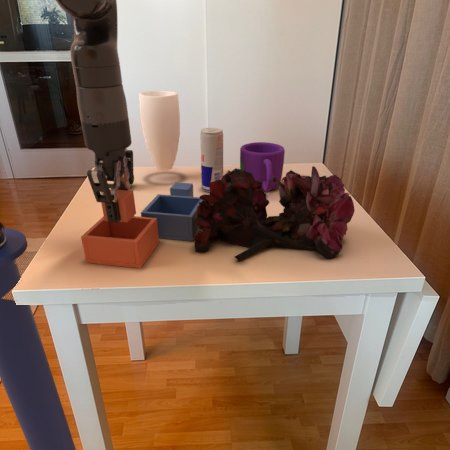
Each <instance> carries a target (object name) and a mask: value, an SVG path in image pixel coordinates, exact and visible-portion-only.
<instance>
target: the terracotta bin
mask: <svg viewBox="0 0 450 450" xmlns="http://www.w3.org/2000/svg"><path fill="white" fill-rule="evenodd" d="M80 239H81V243H82V248H83V253H84V258H85V262H86V263H87V264H95V265H96V264H97V265H105V266H106V265H107V266H115V267H116V266H117V267H126V268H132V269H133V268H135V269H141V268H142V267H143V265H144V264H145V263H146V261H147V260H148V259H149V257H150V256H151V254H152V253H153V252H154V251H155V249H156V248H157V247H158V245H159V244H160V238H159V235H158V224H157V218H149V217H141V216H139V215H138V216H137V215H136V216H135V215H134V216H133V217H132V218H131V219H130V220H129V221H128V222H127V223H125V222H118V223H116V222H109V221H105V220H104V215H103V216H102V217H101V218H100V219H99V220H97V222H96V223H94V224H93V225H92V226H91V227H90V228H89V229H87V231H86V232H84V233H83V234H82V235H81V237H80Z"/></svg>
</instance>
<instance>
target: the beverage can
mask: <svg viewBox="0 0 450 450" xmlns="http://www.w3.org/2000/svg"><path fill="white" fill-rule="evenodd" d="M223 131H224V130H223V129H222V128H220V127H204V128H201V129H200V133H199V135H200V136H199V137H200V171H201V172H200V173H201V175H200V176H201V190H203V191H204V192H207V193H210V187H209V183H210V182H214V181H216V180H221V179H222V177H223V176H224V132H223Z"/></svg>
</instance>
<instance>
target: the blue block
mask: <svg viewBox="0 0 450 450" xmlns="http://www.w3.org/2000/svg"><path fill="white" fill-rule="evenodd" d="M169 193H170V194H169V195H175V196H188V197H194V183H193V182H191V183H190V182H178V181H175V182H174V183H173V185H171V186H170V188H169Z"/></svg>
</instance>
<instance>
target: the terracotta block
mask: <svg viewBox="0 0 450 450" xmlns="http://www.w3.org/2000/svg"><path fill="white" fill-rule="evenodd" d="M109 189H110V192H111V195H112V189H111V188H109ZM117 201H118V205H119V211H120V218H121V220H120V221H119V222H125V223H127V222H128V221H129V220H130V219H131V218H132V217H133V216H135V215H136V214H137V210H136V209H137V207H136V201H135V194H134V190H131V189H130V190H117ZM100 203H101V209H102V215H103V216H104V220H105V221H108V219H107V213H106V207H105V203H104V202H100Z"/></svg>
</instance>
